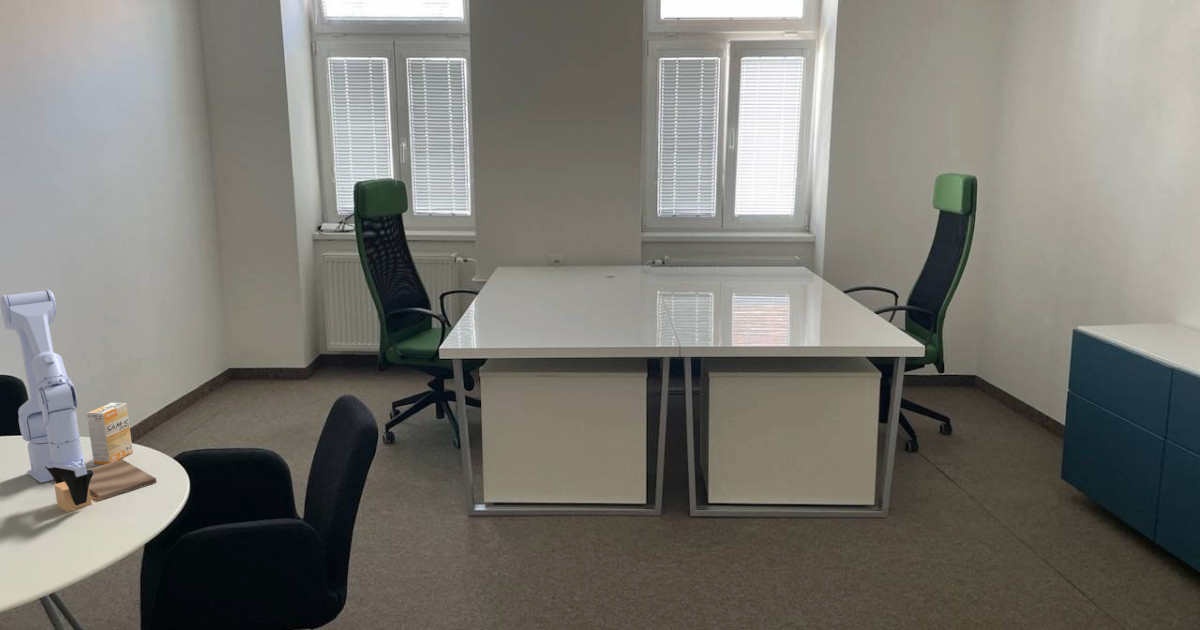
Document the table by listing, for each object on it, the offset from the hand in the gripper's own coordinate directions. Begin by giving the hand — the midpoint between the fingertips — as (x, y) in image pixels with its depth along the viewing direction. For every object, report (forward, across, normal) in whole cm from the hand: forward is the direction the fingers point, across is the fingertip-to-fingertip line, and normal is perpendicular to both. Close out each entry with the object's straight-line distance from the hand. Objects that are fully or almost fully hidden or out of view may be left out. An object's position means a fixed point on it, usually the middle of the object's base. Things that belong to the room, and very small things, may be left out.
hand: (73, 498), depth 193 cm
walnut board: (+1, -7, +10) cm, 13 cm away
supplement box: (+2, -21, +16) cm, 27 cm away
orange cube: (+2, 0, 0) cm, 2 cm away
